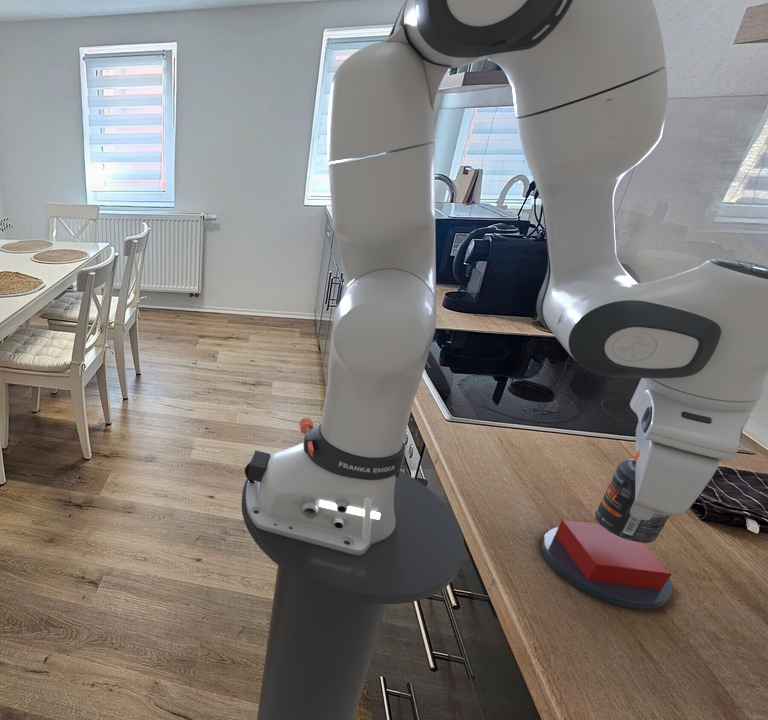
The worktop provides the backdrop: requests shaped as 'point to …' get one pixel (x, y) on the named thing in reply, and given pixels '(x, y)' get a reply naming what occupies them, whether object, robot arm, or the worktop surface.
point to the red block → (611, 556)
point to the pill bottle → (627, 508)
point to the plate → (603, 591)
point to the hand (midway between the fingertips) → (638, 499)
